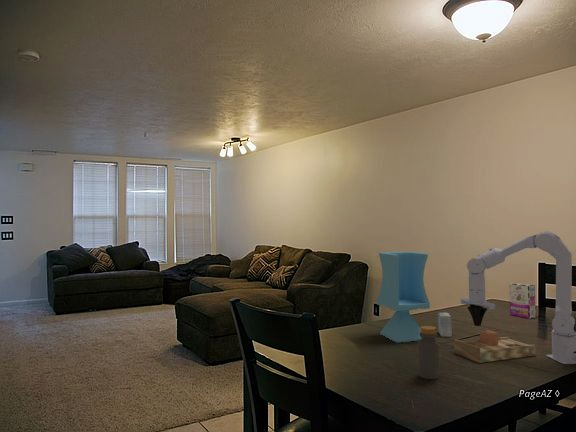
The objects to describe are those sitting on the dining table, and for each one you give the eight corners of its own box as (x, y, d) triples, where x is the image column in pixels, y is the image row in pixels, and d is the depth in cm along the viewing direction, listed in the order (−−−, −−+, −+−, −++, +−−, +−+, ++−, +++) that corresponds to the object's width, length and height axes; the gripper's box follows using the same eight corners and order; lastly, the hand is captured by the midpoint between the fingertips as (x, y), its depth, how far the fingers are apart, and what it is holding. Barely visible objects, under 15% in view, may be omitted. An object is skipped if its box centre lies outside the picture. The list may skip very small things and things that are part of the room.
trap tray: (507, 346, 170) (507, 333, 170) (535, 355, 158) (534, 341, 158) (454, 353, 162) (454, 339, 162) (479, 362, 150) (478, 347, 150)
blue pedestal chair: (395, 343, 175) (393, 254, 176) (377, 334, 190) (375, 252, 191) (430, 340, 180) (428, 253, 180) (409, 331, 195) (408, 251, 195)
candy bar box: (536, 318, 219) (535, 284, 220) (529, 319, 217) (528, 285, 218) (516, 314, 229) (515, 282, 230) (509, 315, 227) (508, 282, 228)
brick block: (489, 341, 166) (489, 330, 166) (498, 344, 162) (497, 332, 162) (480, 342, 164) (480, 331, 165) (488, 345, 160) (488, 333, 161)
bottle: (423, 371, 142) (422, 324, 142) (441, 375, 138) (440, 326, 138) (416, 376, 137) (415, 327, 138) (434, 380, 134) (433, 330, 134)
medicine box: (451, 337, 185) (451, 316, 185) (440, 336, 186) (440, 315, 186) (448, 332, 193) (448, 312, 193) (438, 332, 194) (437, 312, 194)
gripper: (500, 291, 164) (501, 328, 164) (469, 286, 178) (470, 320, 177) (486, 292, 161) (487, 330, 161) (456, 287, 175) (457, 322, 174)
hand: (477, 325), depth 169 cm, fingers closed
